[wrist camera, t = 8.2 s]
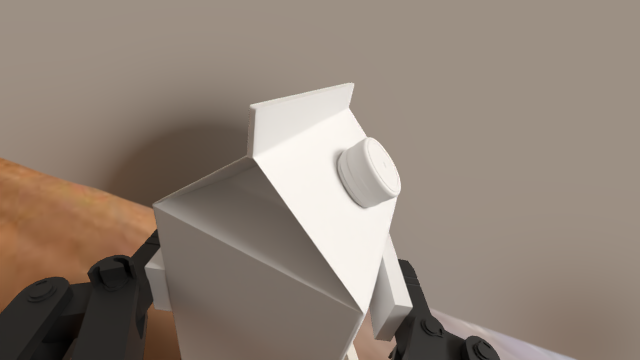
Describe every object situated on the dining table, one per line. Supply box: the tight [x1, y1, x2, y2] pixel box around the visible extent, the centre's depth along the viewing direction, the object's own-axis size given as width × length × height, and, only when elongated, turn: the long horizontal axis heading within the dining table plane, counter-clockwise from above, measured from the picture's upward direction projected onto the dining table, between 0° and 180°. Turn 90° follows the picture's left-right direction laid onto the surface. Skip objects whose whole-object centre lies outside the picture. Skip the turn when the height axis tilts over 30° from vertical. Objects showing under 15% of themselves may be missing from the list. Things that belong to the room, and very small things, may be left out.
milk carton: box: [152, 82, 401, 360], centre depth 12 cm, size 7×7×19 cm
